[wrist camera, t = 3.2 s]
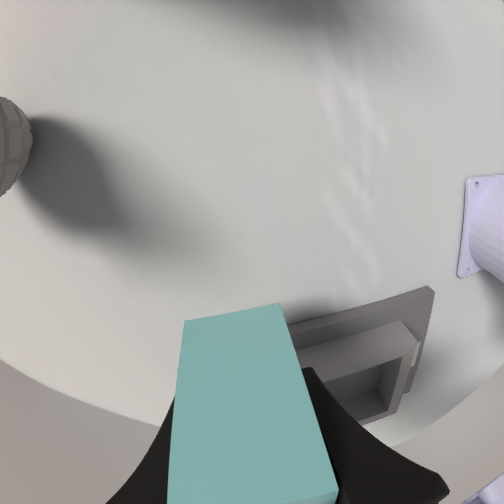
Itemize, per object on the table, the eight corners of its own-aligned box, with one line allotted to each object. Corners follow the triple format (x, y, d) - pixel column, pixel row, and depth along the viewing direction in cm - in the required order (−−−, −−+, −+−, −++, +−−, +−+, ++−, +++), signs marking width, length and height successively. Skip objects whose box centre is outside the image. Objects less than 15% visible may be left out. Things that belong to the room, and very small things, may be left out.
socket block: (427, 285, 19) (453, 310, 16) (405, 384, 24) (420, 408, 21) (244, 333, 19) (250, 372, 16) (269, 425, 24) (275, 455, 20)
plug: (279, 302, 12) (354, 541, 3) (290, 379, 14) (337, 552, 5) (184, 320, 12) (166, 560, 3) (214, 393, 14) (224, 568, 5)
